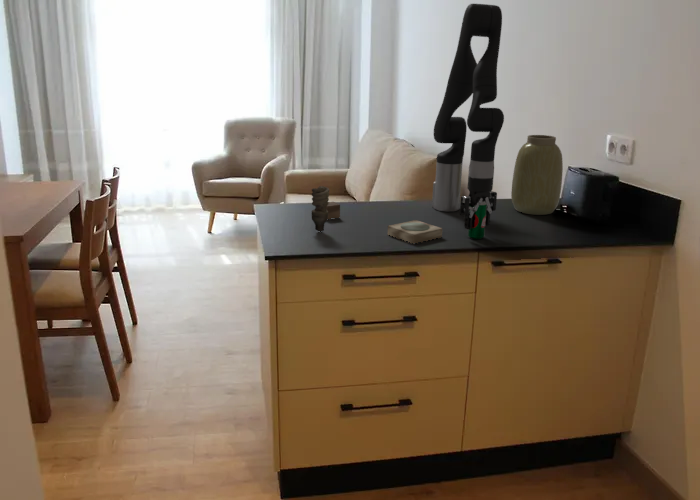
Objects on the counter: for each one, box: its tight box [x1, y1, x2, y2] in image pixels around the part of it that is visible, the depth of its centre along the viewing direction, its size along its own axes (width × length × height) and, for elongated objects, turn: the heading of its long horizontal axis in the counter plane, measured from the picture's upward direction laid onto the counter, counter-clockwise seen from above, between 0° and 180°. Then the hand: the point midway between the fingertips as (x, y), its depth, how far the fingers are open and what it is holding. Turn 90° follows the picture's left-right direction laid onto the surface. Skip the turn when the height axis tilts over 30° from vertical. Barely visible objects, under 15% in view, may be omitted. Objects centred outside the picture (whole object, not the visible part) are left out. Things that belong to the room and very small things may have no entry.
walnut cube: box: [325, 201, 341, 219], centre depth 215 cm, size 5×5×5 cm
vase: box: [510, 134, 564, 216], centre depth 226 cm, size 17×17×27 cm
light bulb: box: [311, 185, 330, 233], centre depth 196 cm, size 6×6×15 cm
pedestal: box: [387, 219, 443, 245], centre depth 196 cm, size 12×12×3 cm
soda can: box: [467, 201, 487, 240], centre depth 194 cm, size 5×5×12 cm
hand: (476, 226), depth 195 cm, fingers open, 7 cm apart
